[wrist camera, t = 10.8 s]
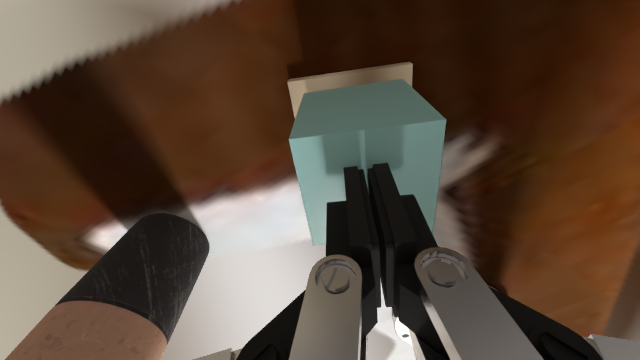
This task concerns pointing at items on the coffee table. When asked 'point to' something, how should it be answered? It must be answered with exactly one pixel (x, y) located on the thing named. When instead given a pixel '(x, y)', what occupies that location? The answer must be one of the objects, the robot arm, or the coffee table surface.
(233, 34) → the coffee table surface
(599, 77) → the coffee table surface
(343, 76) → the board
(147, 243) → the travel mug
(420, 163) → the mint green cube
